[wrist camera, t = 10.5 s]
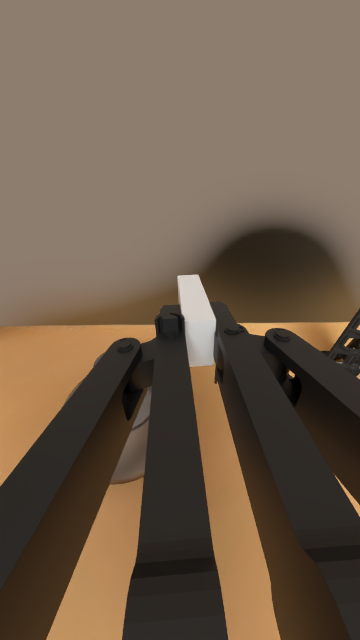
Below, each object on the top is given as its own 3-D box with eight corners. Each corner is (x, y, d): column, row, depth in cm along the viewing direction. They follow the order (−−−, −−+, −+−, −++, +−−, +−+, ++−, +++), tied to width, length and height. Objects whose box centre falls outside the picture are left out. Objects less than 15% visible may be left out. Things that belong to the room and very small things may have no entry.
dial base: (33, 434, 31) (21, 421, 28) (123, 351, 45) (120, 338, 42) (137, 524, 23) (131, 515, 20) (207, 388, 37) (208, 374, 34)
